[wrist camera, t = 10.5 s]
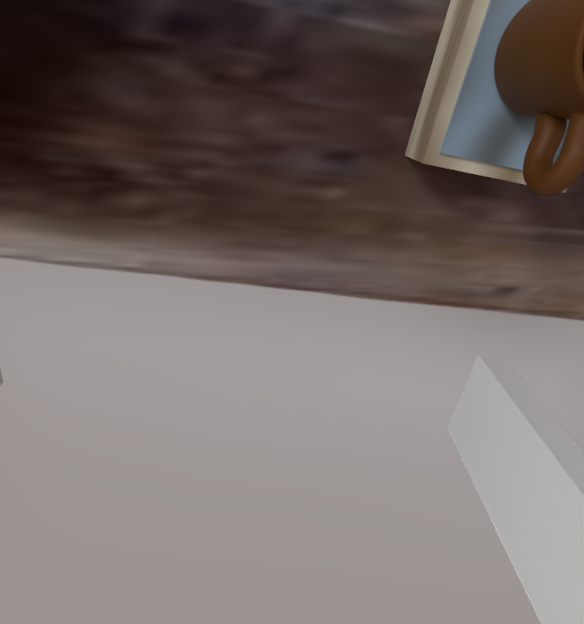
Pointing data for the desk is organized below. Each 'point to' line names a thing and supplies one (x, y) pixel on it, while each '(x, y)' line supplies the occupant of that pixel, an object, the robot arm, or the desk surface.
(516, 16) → the mug
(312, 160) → the desk surface
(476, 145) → the plinth
